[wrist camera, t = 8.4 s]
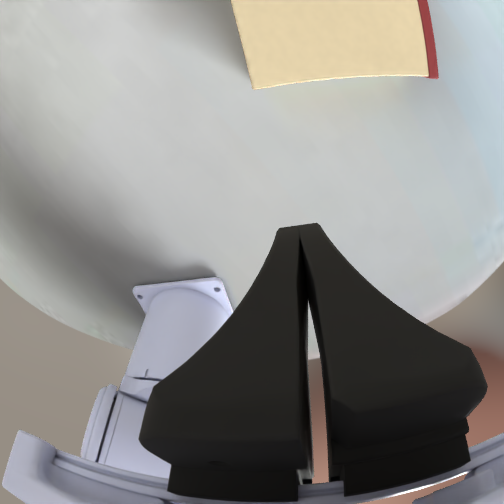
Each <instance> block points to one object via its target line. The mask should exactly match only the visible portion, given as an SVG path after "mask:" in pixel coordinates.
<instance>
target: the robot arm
mask: <svg viewBox="0 0 504 504" xmlns="http://www.w3.org/2000/svg"><path fill="white" fill-rule="evenodd" d="M215 287H218V288H215ZM133 294H134V295H135V297H136V299H137V300H138V302H139V304H140V305H141V307H142V308H143V310H144V312H145V313H146V316H145V319H144V322H143V324H142V327H141V330H140V333H139V335H138V338H137V341H136V344H135V347H134V349H133V353H132V355H131V358H130V361H129V364H128V367H127V370H126V373H125V376H124V377H123V379H122V382H121V384H120V387H119V390H118V391H116V389H117V386H115V385H113V384H109V385H108V387H107V386H106V387H103V388H101V389H100V391H99V393H98V395H97V398H96V401H95V403H94V406H93V410H92V413H91V415H90V419H89V422H88V425H87V428H86V432H85V436H84V440H83V444H82V449H81V457H82V458H81V457H78V456H75V455H72V454H69V453H66V452H64V451H61V450H58V449H56V448H55V447H54V446H52V445H51V444H49V443H48V442H46V441H44V440H42V439H41V438H38V437H37V436H34V435H32V434H29V433H27V432H25V431H22V430H18V433H17V436H16V439H15V442H14V445H13V448H12V451H11V454H10V458H9V460H8V464H7V467H6V471H5V474H4V478H3V482H2V486H3V487H4V488H5V489H7V490H8V491H9V492H10V493H12V494H13V495H15V496H16V497H18V498H19V499H20V500H22V501H23V502H24V503H26V504H357V503H362V502H369V501H374V500H378V499H383V498H388V497H392V496H396V495H400V494H405V493H408V492H412V491H416V490H419V489H422V488H426V487H429V486H432V485H435V484H438V483H441V482H444V481H447V480H449V479H452V478H455V477H458V476H460V475H463V474H465V473H468V472H469V473H468V474H467V475H466V476H465V479H464V480H463V481H461V482H458V483H456V484H453V485H451V486H448V487H445V488H443V489H440V490H437V491H435V492H433V493H431V494H429V495H427V496H424V497H421V498H418V499H415V500H414V501H413V502H412V504H504V433H501V434H499V435H497V436H495V437H493V438H491V439H488V440H486V441H484V442H482V443H479V444H477V445H474V446H472V447H469V448H468V445H467V440H466V436H465V434H467V433H468V432H469V426H468V423H467V419H466V417H467V416H468V415H469V414H470V413H471V412H472V411H473V410H474V409H475V408H476V407H477V405H478V404H479V403H480V402H481V401H482V399H483V398H484V396H485V394H486V392H487V387H488V386H487V383H486V380H485V377H484V375H483V372H482V370H481V367H480V365H479V363H478V361H477V360H476V357H475V356H474V354H473V352H472V350H471V349H470V348H469V347H467V346H465V345H463V344H461V343H459V342H457V341H455V340H453V339H451V338H449V337H448V336H446V335H443V334H441V333H439V332H438V331H436V330H434V329H433V328H431V327H429V326H428V325H426V324H424V323H423V322H421V321H419V320H418V319H416V318H415V317H413V316H412V315H410V314H409V313H407V312H406V311H405V310H403V309H402V308H400V307H399V306H397V305H396V304H394V303H393V302H392V301H391V300H389V299H388V298H387V297H386V296H384V295H383V294H382V293H381V292H380V291H378V290H377V289H376V288H375V287H374V286H372V285H371V284H370V283H369V282H368V281H367V280H366V279H365V278H364V277H363V276H362V275H361V274H360V273H359V272H358V271H357V270H356V269H355V268H354V267H353V266H352V265H351V264H350V263H349V262H348V261H347V260H346V259H345V257H344V256H343V255H342V254H341V253H340V252H339V251H338V249H337V248H336V247H335V246H334V244H333V243H332V242H331V241H330V239H329V238H328V237H327V235H326V234H325V232H324V231H323V229H322V228H321V226H320V225H319V224H318V223H312V224H305V225H298V226H291V227H284V228H279V230H278V231H277V233H276V236H275V239H274V242H273V245H272V247H271V250H270V252H269V254H268V256H267V258H266V260H265V262H264V264H263V267H262V268H261V270H260V272H259V274H258V276H257V277H256V279H255V281H254V282H253V284H252V286H251V288H250V289H249V291H248V292H247V294H246V295H245V297H244V298H243V300H242V301H241V303H240V304H239V305H238V307H237V308H236V309H235V311H234V312H233V309H232V306H231V304H230V301H229V298H228V296H227V293H226V290H225V288H224V285H223V282H222V280H221V279H220V278H218V277H210V278H202V279H194V280H185V281H176V282H168V283H159V284H150V285H141V286H135V287H134V288H133ZM140 295H141V296H140ZM308 301H309V306H310V310H311V315H312V320H313V324H314V329H315V333H316V338H317V343H318V348H319V353H320V359H321V364H322V376H323V387H324V399H325V412H326V428H327V443H328V444H327V446H328V468H329V482H326V483H317V484H312V478H313V477H314V462H313V440H312V422H311V406H310V390H309V375H308Z"/></svg>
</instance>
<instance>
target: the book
mask: <svg viewBox="0 0 504 504" xmlns="http://www.w3.org/2000/svg"><path fill="white" fill-rule="evenodd" d="M231 4H232V8H233V12H234V16H235V19H236V23H237V27H238V31H239V35H240V39H241V43H242V47H243V51H244V55H245V59H246V63H247V68H248V72H249V76H250V80H251V84H252V89H253V90H257V89H262V88H268V87H274V86H280V85H286V84H293V83H301V82H308V81H317V80H327V79H338V78H351V77H369V76H422V77H426V78H430V79H438V66H437V57H436V49H435V42H434V35H433V29H432V23H431V17H430V12H429V7H428V2H427V0H231Z"/></svg>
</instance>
